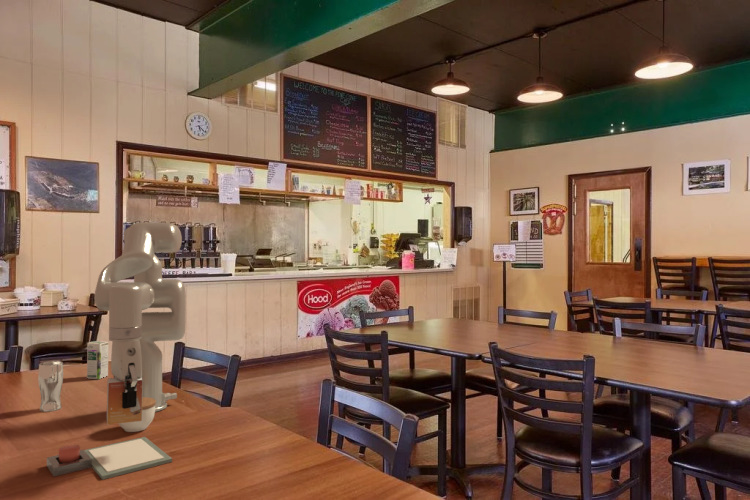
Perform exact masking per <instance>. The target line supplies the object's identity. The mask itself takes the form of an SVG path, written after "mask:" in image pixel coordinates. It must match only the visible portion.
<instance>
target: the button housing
mask: <svg viewBox="0 0 750 500" xmlns="http://www.w3.org/2000/svg"><path fill="white" fill-rule="evenodd" d="M84 450H85V449H80V459H79V460H76V461H72V462H67V463H60V462H59V454H57V455H52V456H49V457H46V466H47V469H48V470H49V472H50V473H51V475H52V476H53V477H58V476H63V475H65V474H69V473H74V472H77V471H82V470H88V469H93V468H92V459H91V458H90V456H89V455H88V454H87V453H86V452H85V451H84Z"/></svg>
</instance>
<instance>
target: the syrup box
mask: <svg viewBox="0 0 750 500" xmlns="http://www.w3.org/2000/svg"><path fill="white" fill-rule="evenodd" d="M86 347H87V348H86V350H87V351H86V353H87V354H86V356H87V358H86V359H87V360H86V361H87V362H86V363H87V364H86V379H87V378H88V379H87V380H89V379H90V380H102V379H104V378H107V377H108V376H109V341H100V340H95V341H90V342H87V345H86ZM106 376H107V377H106ZM103 377H104V378H103ZM101 378H102V379H101Z"/></svg>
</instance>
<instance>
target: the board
mask: <svg viewBox="0 0 750 500" xmlns="http://www.w3.org/2000/svg"><path fill="white" fill-rule="evenodd" d="M83 450H84V451H85V452H86V453H87V454H88V455H89V456H90V458H91V459H92V468H91V469H93V472H95V473H96V474H97V475H98V477H99V478H100V479H101V480H102V481H103V480H107V479H110V478H115V477H118V476H122V475H126V474H131V473H134V472H138V471H142V470H146V469H149V468H153V467H158V466H161V465H165V464H168V463H172V462H173V458H172V457H171V456H170V455H169V454H167V453H166V452H165V451H163V450H162V449H161V448H160V447H159V446H157V445H156V444H155V443H154V442H152V441H151V440H150V439H149V438H147V437H146V436H142V437H137V438H133V439H129V440H125V441H119V442H114V443H110V444H107V445H101V446H96V447H93V448H92V447H91V448H87V449H83Z"/></svg>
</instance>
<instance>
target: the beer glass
mask: <svg viewBox="0 0 750 500" xmlns="http://www.w3.org/2000/svg"><path fill="white" fill-rule="evenodd" d="M63 363H64V362H63V361H59V360H54V361H45V362H41V363H39V365H38V377H37V378H38V379H37V381H38V386H39V392H40V401H41V402H40V406H39V411H40V412H43V413H44V412H45V413H49V412H55V411H59V410H61V409H62V402H61V393H62V389H63V384H64V383H63V381H64V364H63Z"/></svg>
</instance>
